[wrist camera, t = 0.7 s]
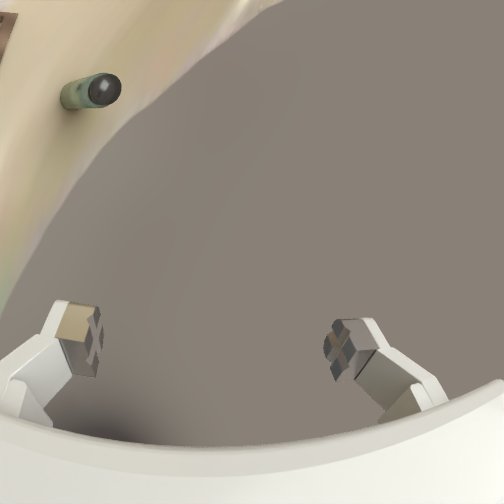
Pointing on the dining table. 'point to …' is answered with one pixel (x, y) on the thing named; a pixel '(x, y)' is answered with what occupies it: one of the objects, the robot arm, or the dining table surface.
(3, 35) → the u rest
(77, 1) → the dining table surface
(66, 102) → the flask
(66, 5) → the dining table surface
